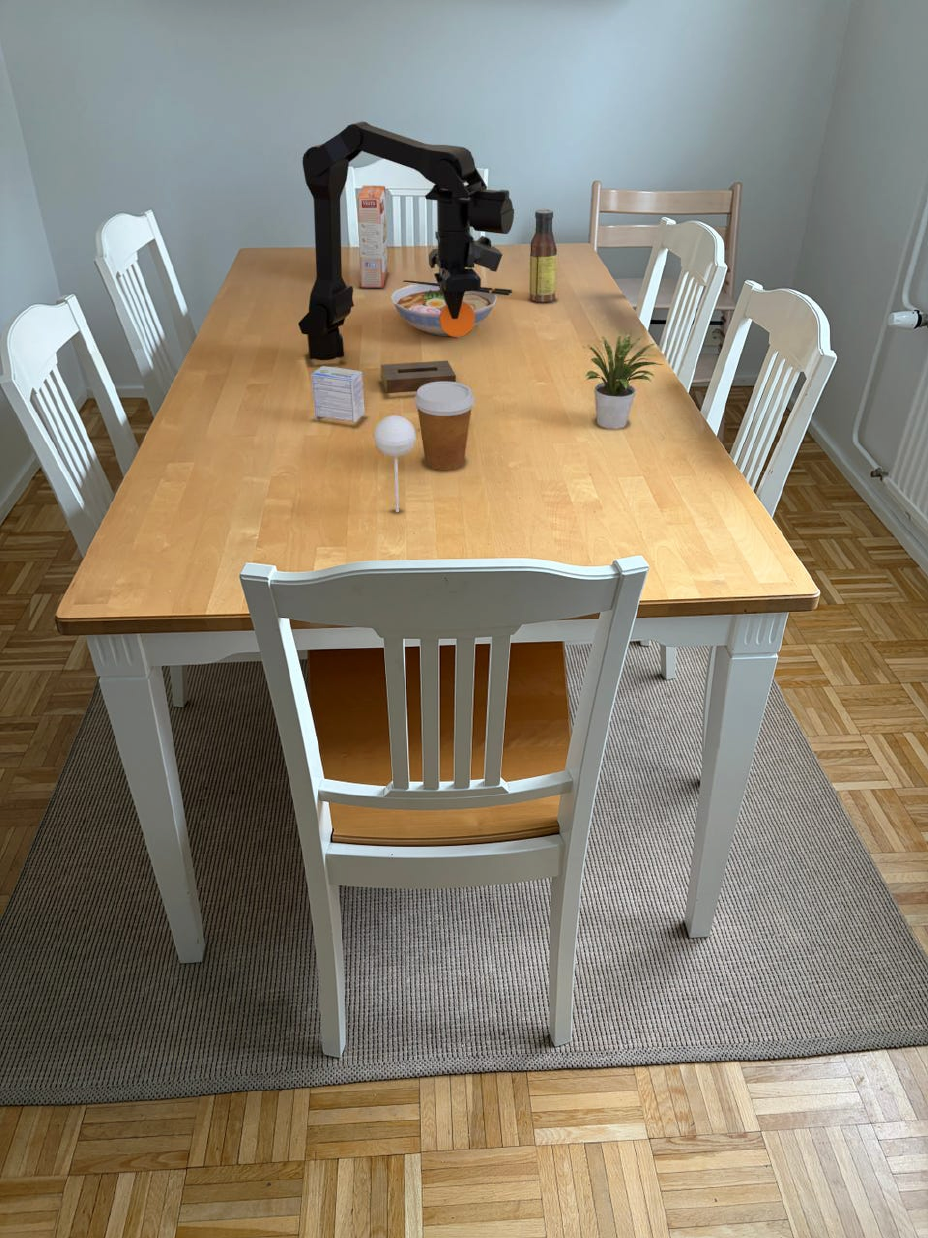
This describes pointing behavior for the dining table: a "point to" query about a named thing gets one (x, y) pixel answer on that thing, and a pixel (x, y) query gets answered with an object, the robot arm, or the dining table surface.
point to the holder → (415, 375)
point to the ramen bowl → (439, 304)
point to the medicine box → (338, 393)
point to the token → (457, 320)
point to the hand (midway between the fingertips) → (454, 317)
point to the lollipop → (395, 441)
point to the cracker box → (372, 236)
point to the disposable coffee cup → (444, 422)
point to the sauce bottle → (543, 259)
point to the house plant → (617, 382)
